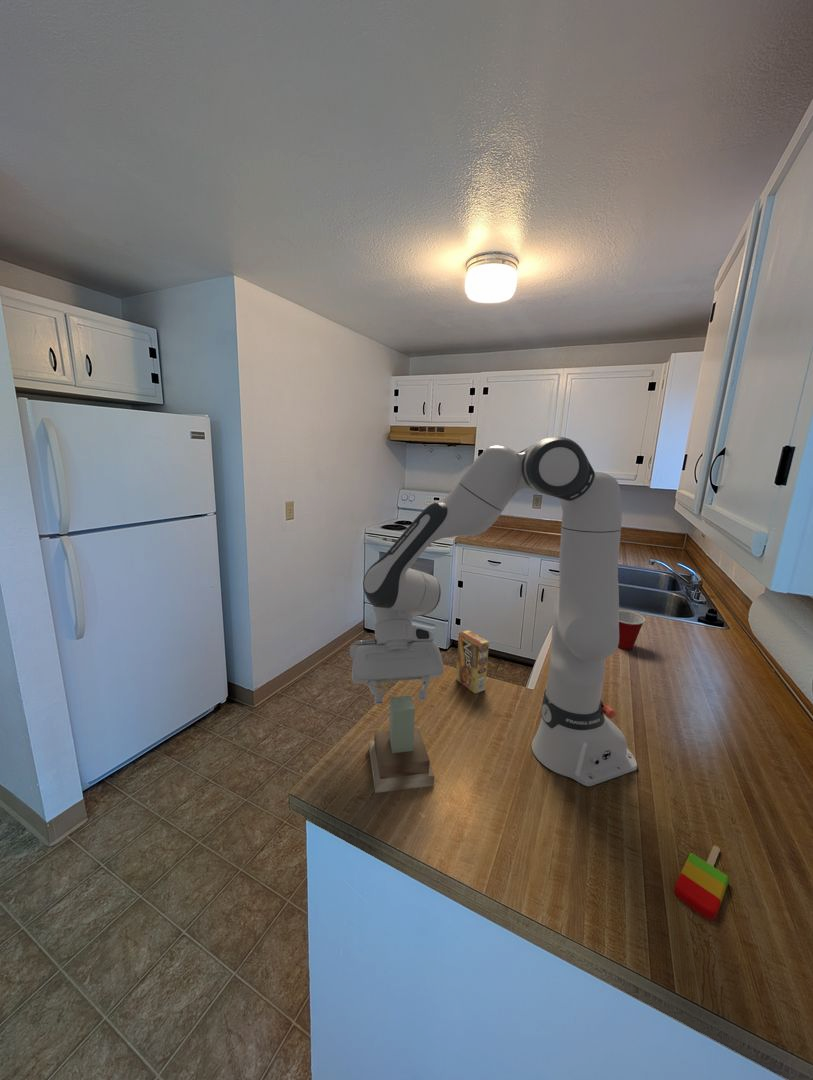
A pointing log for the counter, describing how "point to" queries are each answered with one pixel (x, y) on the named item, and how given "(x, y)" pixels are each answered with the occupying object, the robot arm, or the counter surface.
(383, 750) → the tower top
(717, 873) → the popsicle
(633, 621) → the plastic cup
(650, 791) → the counter surface
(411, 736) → the green block
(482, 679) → the candy box
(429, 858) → the counter surface
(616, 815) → the counter surface
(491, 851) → the counter surface
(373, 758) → the tower base
